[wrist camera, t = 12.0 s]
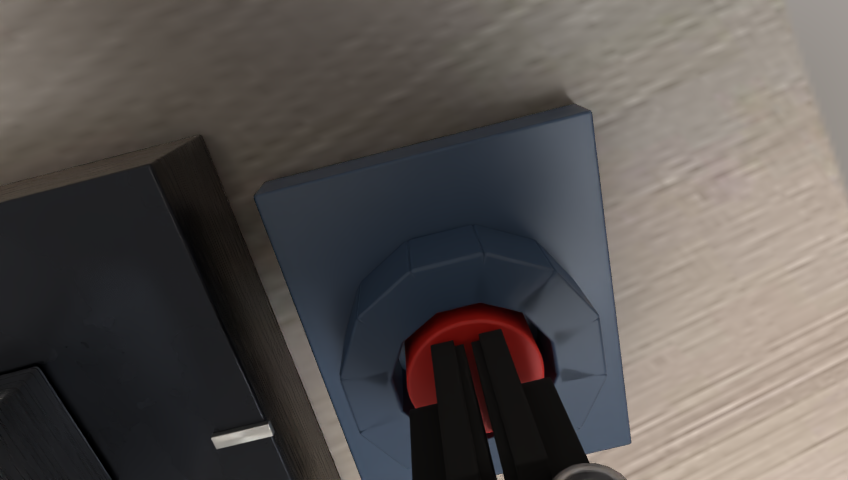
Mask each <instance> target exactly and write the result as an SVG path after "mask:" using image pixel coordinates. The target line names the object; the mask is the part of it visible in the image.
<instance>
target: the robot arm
mask: <svg viewBox="0 0 848 480" xmlns="http://www.w3.org/2000/svg"><path fill="white" fill-rule="evenodd" d="M478 335H479V340H478V341H474V342H471V345H472V349H473V353H474V357H475V361H476V365H477V370H478V374H479V378H480V382H481V386H482V390H483V394H484V398H485V402H486V406H487V410H488V414H489V418H490V422H491V427H492V431H493V435H494V439H495V443H496V447H497V451H498V455H499V459H500V463H501V467H502V471H503V475H504V479H505V480H627V479H626V478H625V477H624V476H623V475H622V474H621V473H619V472H617V471H615V470H614V469H612V468H610V467H608V466H604V465H600V464H596V463H589V461H588V458H587V456H586V454H585V452H584V450H583V447H582V445H581V443H580V441H579V439H578V436H577V434H576V432H575V430H574V428H573V425H572V423H571V421H570V419H569V417H568V414H567V412H566V410H565V408H564V406H563V403H562V401H561V399H560V397H559V395H558V392H557V390H556V388H555V386H554V384H553V382H552V380H551V378H550V377H547V378H542V379H538V380H534V381H530V382H525V383H521V382H520V379H519V376H518V373H517V371H516V368H515V365H514V362H513V360H512V357H511V354H510V351H509V349H508V346H507V343H506V340H505V338H504V335H503V332H502V330H501V329H497V330H493V331H489V332H484V333H480V334H478ZM430 347H431V356H432V364H433V372H434V380H435V389H436V397H437V403H436V404H432V405H427V406H423V407H419V408H415V409H410V413H409V418H410V440H411V462H412V480H497V478H496V473H495V469H494V465H493V460H492V456H491V452H490V448H489V443H488V439H487V435H486V431H485V427H484V423H483V419H482V415H481V411H480V407H479V403H478V399H477V395H476V391H475V387H474V384H473V380H472V376H471V372H470V368H469V364H468V360H467V356H466V352H465V348H464V344H461V345H457V346H455V345H454V341H453V340H451V341H447V342H443V343H438V344H434V345H431V346H430Z"/></svg>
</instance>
